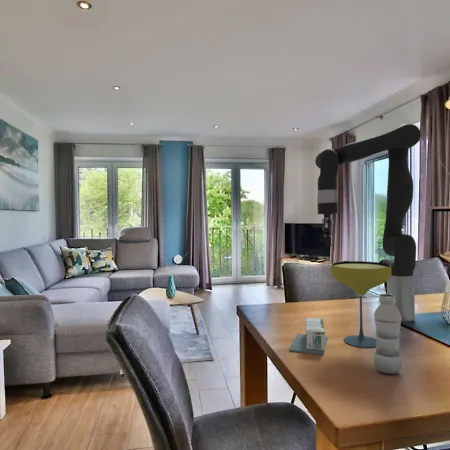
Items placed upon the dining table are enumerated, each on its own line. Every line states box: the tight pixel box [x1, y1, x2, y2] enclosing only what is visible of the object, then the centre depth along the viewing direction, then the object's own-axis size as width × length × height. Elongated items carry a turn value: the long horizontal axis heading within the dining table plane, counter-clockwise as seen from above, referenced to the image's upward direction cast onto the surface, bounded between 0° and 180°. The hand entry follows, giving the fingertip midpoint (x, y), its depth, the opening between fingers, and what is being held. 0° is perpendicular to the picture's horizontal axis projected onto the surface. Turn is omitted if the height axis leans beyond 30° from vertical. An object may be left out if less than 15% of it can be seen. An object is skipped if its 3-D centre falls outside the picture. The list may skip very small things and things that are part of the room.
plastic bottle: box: [373, 293, 403, 375], centre depth 91 cm, size 6×7×20 cm
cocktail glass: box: [330, 260, 391, 349], centre depth 113 cm, size 18×18×25 cm
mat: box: [288, 333, 328, 356], centre depth 112 cm, size 10×15×1 cm, turn 159°
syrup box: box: [305, 317, 326, 351], centre depth 113 cm, size 6×6×14 cm
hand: (328, 246), depth 136 cm, fingers closed
